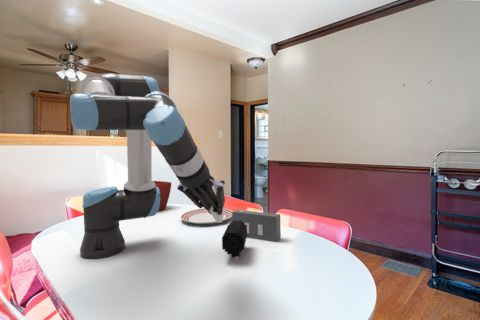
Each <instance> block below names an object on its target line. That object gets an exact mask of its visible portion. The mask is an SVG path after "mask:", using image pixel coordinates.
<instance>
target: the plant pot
mask: <svg viewBox="0 0 480 320" xmlns="http://www.w3.org/2000/svg"><path fill="white" fill-rule="evenodd" d="M152 181H153V182H154V183H155V184H156V187H158V188H159V190H160V205H159V210H158V212H159V211H160V212H161V211H164V210H166V208H167V206H168V205H167V204H168V201H169V198H170V195H171V190H172V182H171V181H161V180H152Z"/></svg>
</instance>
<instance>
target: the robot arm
mask: <svg viewBox="0 0 480 320" xmlns="http://www.w3.org/2000/svg"><path fill="white" fill-rule="evenodd" d="M79 88H80V89H79V93H72V94H71V95H70V97H69V111H70V113H69V114H70V121H71V125H72V128H74V129H76V130H82V131H83V130H84V131H89V132H91V131H93V132H94V131H126V147H127V149H126V151H127V152H126V153H127V154H126V155H127V156H126V157H127V181H126V182H125V183H124V184H123V189H119V188H118V187H117V186H107V187H101V188H98V189H93V190H90V191H88V192H86V193H84V194H83V198H82V208H83V209H82V210H83V226H84V227H83V228H84V234H83V238H82V240H81V241H82V242H81V245H80V248H79V256H80V257H81V258H84V259H102V258H105V257H111V256H114V255H117V254H119V253H121V252H123V251H124V250H125V249H126V241H125V237H124V236H123V233H122V231H121V229H120V222H121V221H122V222H123V221H128V220H136V219H143V218H144V219H146V218H148V217H154V216H155V215H157V213H158V212H159V211H158V210H159V205H160V190H159V188H158V187H156V184H155V183H154V182H153V181H154V180H153V179H152V177H153V176H152V173H153V171H152V162H153V161H152V159H153V158H152V157H153V156H152V153H153V152H152V149H153V148H152V147H153V144H152V142H153V143H154V145H155V147H156V148H157V149H158V151H159V153H160V154H161V155H162V156H163V158H164V160H165V161H166V163H167V164H168V166H169V167H170V169H171V171H172V172H173V173H174V175H175V176H176V178H177V180H178V181H179V183H178V186H177V188H176V189H177V190H178V191H180V192H181V193H183V194H184V195H185V196H186V197H187V198H188V199H189V200H190V201H191V202H192V203H193V204H194V205H195V206H196V207H197V208H198V209H202V208H205V209H206V210H208V212H209V214H212V216H213V217H214V219H215V220H216V222H217V223H216V224H221V223H223V221H222V219H223V216H224V214H223V213H222V211H223V208H224V206H225V201H226V198H225V190H224V187H225V184H226V182H225V180H219V181H217V180H215V178H214V177H213V176H212V175H211V173H210V168H209V167H208V165H207V163H206V161H205V159H204V157H203V155H202V153H201V151H200V150H199V148H198V146H197V144H196V142H195V140H194V139H193V137H192V135H191V131H190V130H189V128H188V126H187V125H186V122H185V119H184V118H183V117H182V114H181V113H180V112H179V110H178V109H177V106H176V104H175V102H174V101H173V100H172V99H171V98H170V96H169V95H168V94H166V93H165V92H163V91H161V90H160V87H159V83H158V82H157V80H156V78H154V77H151V76H145V75H135V74H125V73H124V74H122V73H112V72H110V73H109V72H107V73H99V74H95V75H92V76H89V77H87V78H86V79H84V80H83V81H82V83H81V85H80V87H79ZM213 187H214V189H213Z"/></svg>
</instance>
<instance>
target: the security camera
mask: <svg viewBox="0 0 480 320" xmlns="http://www.w3.org/2000/svg"><path fill="white" fill-rule="evenodd" d="M247 238H248V237H247V225H245V223H243V221H233V220H232V221H231V222H230V223H229V224H228V225H227V227H226V229H225V231H224V233H223V235H222V237H221V248H222V249H221V250H224V252H225V253H226V254H227V255H231V257H232V258H239V257H240V253H242V251H244V250H245V246H246V240H247Z"/></svg>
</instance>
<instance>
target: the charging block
mask: <svg viewBox="0 0 480 320" xmlns="http://www.w3.org/2000/svg"><path fill="white" fill-rule="evenodd" d="M232 211H233V212H232V217H231V218H232V221H243V223H245V225H247V237H246V238H249V239H257V240H261V241H267V242H268V241H269V242H275V243H277V242H279V241H280V240H281V238H282V237H281V214H278V213H270V212H261V211H253V210H252V211H250V210H241V209H236V210H232Z"/></svg>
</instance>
